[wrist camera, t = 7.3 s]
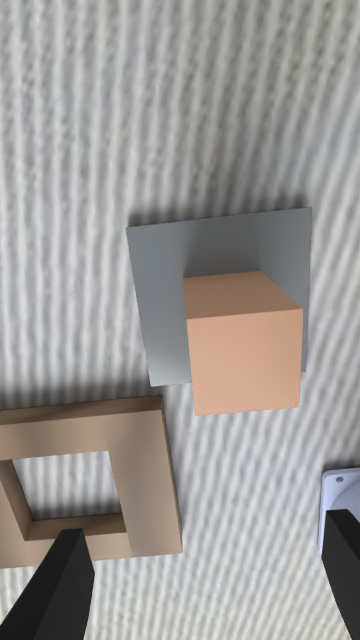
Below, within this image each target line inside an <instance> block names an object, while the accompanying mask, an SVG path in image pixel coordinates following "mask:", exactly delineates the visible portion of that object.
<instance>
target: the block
mask: <svg viewBox="0 0 360 640" xmlns="http://www.w3.org/2000/svg"><path fill="white" fill-rule="evenodd" d="M183 288H184V299H185V310H186V321H187V332H188V343H189V354H190V365H191V376H192V387H193V398H194V409H195V416H200V415H212V414H223V413H235V412H247V411H259V410H270V409H282V408H294V407H299V397H300V375H301V352H302V330H303V308H302V307H301V306H300V305H299V304H297V303H296V302H295V301H294V300H293V299H292V298H291V297H290V296H288V295H287V294H286V293H285V292H284V291H283V290H282V289H281V288H279V287H278V286H277V285H276V284H275V283H274V282H273V281H271V280H270V279H269V278H268V277H267V276H266V275H265V274H264V273H262V272H261V271H254V272H243V273H232V274H221V275H211V276H200V277H189V278H183Z"/></svg>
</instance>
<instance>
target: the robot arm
mask: <svg viewBox="0 0 360 640" xmlns="http://www.w3.org/2000/svg"><path fill="white" fill-rule="evenodd" d="M318 550H319V552H320V554H321V555H322V557H321V558H322V561H323V564H324V568H325V571H326V574H327V577H328V580H329V583H330V586H331V589H332V592H333V595H334V598H335V601H336V603H337V606H338V608H339V611H340V613H341V615H342V618H343V620H344V622H345V625H346V627H347V629H348V632H349V634H350V637H351V639H352V640H360V468H349V469H338V470H329V471H326V472H325V473H324V474H323V476H322V490H321V505H320V521H319V536H318ZM94 576H95V572H94V569H93V565H92V561H91V558H90V554H89V550H88V546H87V543H86V539H85V535H84V532H83V528H76V529H62V530H61V531H60V532H59V534H58V536H57V537H56V539H55V541H54V542H53V544H52V546H51V547H50V549H49V551H48V552H47V554H46V556H45V557H44V559H43V560H42V562H41V564H40V565H39V567H38V569H37V570H36V572H35V573H34V575H33V576H32V578H31V580H30V581H29V583H28V584H27V586H26V587H25V589H24V591H23V592H22V594H21V595H20V597H19V598H18V600H17V601H16V603H15V604H14V606H13V607H12V609H11V610H10V612H9V613H8V615H7V616H6V618H5V619H4V621H3V622H2V624H1V625H0V640H83V639H84V635H85V630H86V626H87V622H88V617H89V611H90V604H91V598H92V590H93V583H94Z"/></svg>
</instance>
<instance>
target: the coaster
mask: <svg viewBox="0 0 360 640" xmlns="http://www.w3.org/2000/svg"><path fill="white" fill-rule="evenodd" d="M311 220H312V207H303V208H294V209H285V210H276V211H267V212H258V213H249V214H240V215H231V216H222V217H213V218H204V219H195V220H185V221H176V222H167V223H158V224H149V225H140V226H131V227H127V228H126V233H127V239H128V245H129V252H130V258H131V264H132V271H133V277H134V283H135V289H136V296H137V302H138V308H139V315H140V321H141V327H142V334H143V340H144V346H145V353H146V359H147V365H148V372H149V378H150V384H151V387H155V386H165V385H176V384H186V383H192V376H191V365H190V354H189V343H188V332H187V321H186V310H185V299H184V288H183V278H189V277H200V276H211V275H221V274H232V273H243V272H254V271H261V272H262V273H264V274H265V275H266V276H267V277H268V278H269V279H270V280H271V281H273V282H274V283H275V284H276V285H277V286H278V287H279V288H281V289H282V290H283V291H284V292H285V293H286V294H287V295H288V296H290V297H291V298H292V299H293V300H294V301H295V302H296V303H297V304H299V305H300V306H301V307H302V308H303V330H302V352H301V372H306V358H307V330H308V303H309V275H310V247H311Z"/></svg>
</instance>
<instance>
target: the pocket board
mask: <svg viewBox="0 0 360 640" xmlns="http://www.w3.org/2000/svg"><path fill="white" fill-rule="evenodd" d="M106 450H108V453H109V457H110V461H111V466H112V470H113V474H114V479H115V483H116V487H117V492H118V496H119V500H120V505H121V509H122V513H116V514H105V515H94V516H83V517H72V518H60V519H49V520H38V521H33V518H32V516H31V513H30V510H29V507H28V505H27V502H26V499H25V497H24V494H23V491H22V488H21V486H20V483H19V480H18V478H17V475H16V472H15V469H14V467H13V464H12V461H11V459H21V458H32V457H42V456H53V455H63V454H74V453H85V452H95V451H106ZM76 528H83V532H84V535H85V539H86V543H87V546H88V550H89V554H90V558H91V561H97V560H109V559H120V558H132V557H144V556H155V555H167V554H178V553H182V529H181V522H180V515H179V508H178V501H177V494H176V488H175V481H174V474H173V467H172V460H171V453H170V446H169V440H168V433H167V426H166V419H165V412H164V405H163V399H162V395H155V396H145V397H134V398H124V399H114V400H104V401H93V402H83V403H73V404H63V405H53V406H42V407H32V408H22V409H12V410H1V411H0V569H4V568H16V567H27V566H39V565H40V564H41V562H42V560H43V559H44V557H45V556H46V554H47V552H48V551H49V549H50V547H51V546H52V544H53V542H54V541H55V539H56V537H57V536H58V534H59V532H60V531H61V530H62V529H76Z"/></svg>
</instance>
